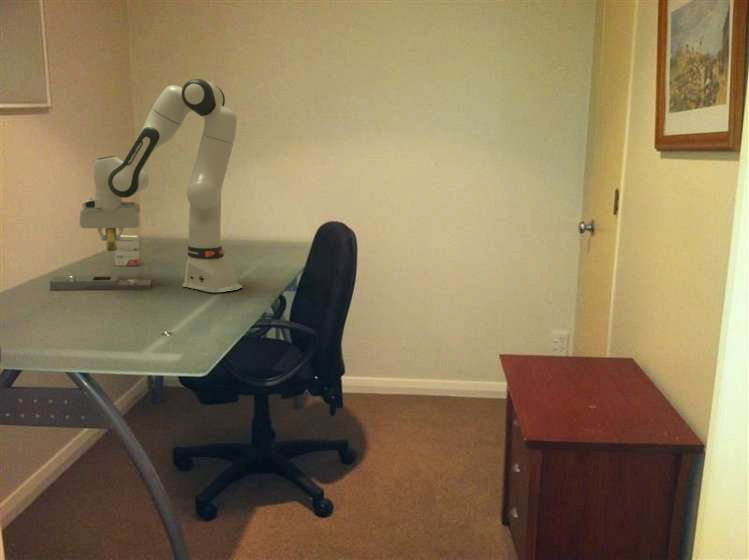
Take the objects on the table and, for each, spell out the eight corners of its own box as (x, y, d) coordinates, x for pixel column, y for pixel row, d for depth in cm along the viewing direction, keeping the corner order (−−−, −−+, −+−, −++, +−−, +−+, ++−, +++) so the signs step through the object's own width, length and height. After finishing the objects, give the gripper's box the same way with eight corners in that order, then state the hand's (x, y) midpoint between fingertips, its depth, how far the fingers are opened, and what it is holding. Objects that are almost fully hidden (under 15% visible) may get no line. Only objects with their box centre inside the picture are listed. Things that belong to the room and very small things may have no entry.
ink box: (140, 263, 283) (139, 235, 280) (137, 266, 278) (136, 237, 276) (118, 263, 282) (117, 234, 279) (114, 265, 277) (113, 236, 275)
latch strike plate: (151, 283, 251) (150, 272, 250) (149, 289, 243) (149, 277, 242) (54, 284, 243) (54, 273, 242) (50, 290, 235) (49, 278, 234)
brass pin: (119, 250, 254) (117, 228, 252) (109, 251, 251) (108, 229, 249) (113, 248, 256) (112, 227, 254) (104, 250, 253) (103, 228, 252)
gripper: (139, 200, 255) (141, 238, 258) (80, 201, 250) (82, 239, 253) (138, 202, 249) (140, 240, 252) (77, 203, 244) (80, 242, 247)
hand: (111, 240), depth 253 cm, fingers closed on brass pin, 4 cm apart
